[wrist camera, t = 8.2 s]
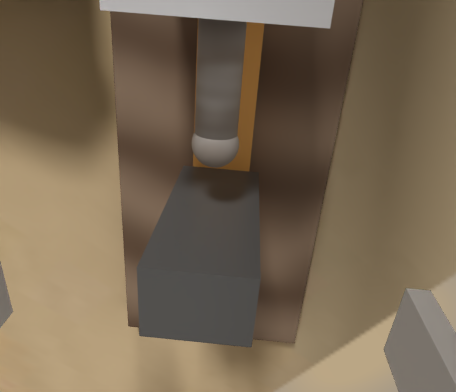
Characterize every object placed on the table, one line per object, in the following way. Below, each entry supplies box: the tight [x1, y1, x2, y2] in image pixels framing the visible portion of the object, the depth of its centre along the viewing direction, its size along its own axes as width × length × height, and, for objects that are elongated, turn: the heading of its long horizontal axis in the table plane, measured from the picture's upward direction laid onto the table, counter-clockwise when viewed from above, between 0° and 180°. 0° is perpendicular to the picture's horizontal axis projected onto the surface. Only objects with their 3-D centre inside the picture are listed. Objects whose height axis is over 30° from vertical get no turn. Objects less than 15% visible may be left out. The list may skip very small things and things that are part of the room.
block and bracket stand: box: [99, 0, 335, 347], centre depth 16 cm, size 13×6×10 cm, turn 176°
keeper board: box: [110, 0, 363, 343], centre depth 18 cm, size 26×12×12 cm, turn 176°
